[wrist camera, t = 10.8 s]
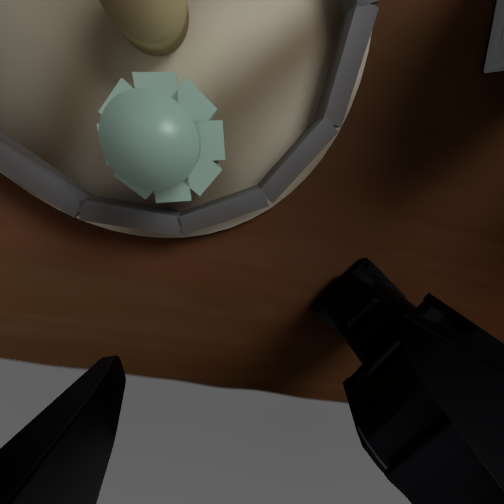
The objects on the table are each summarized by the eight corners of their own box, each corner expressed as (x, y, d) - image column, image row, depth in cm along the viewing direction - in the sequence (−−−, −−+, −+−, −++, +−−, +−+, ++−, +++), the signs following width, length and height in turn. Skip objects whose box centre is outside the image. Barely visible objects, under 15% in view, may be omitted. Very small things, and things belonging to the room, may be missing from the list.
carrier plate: (439, 26, 16) (496, -3, 13) (195, 291, 21) (192, 319, 17) (42, -763, 7) (-94, -1497, 4) (-231, 13, 12) (-396, -35, 9)
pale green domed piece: (242, 140, 16) (259, 138, 10) (181, 212, 17) (168, 245, 12) (158, 55, 14) (124, -3, 8) (95, 145, 15) (28, 147, 9)
